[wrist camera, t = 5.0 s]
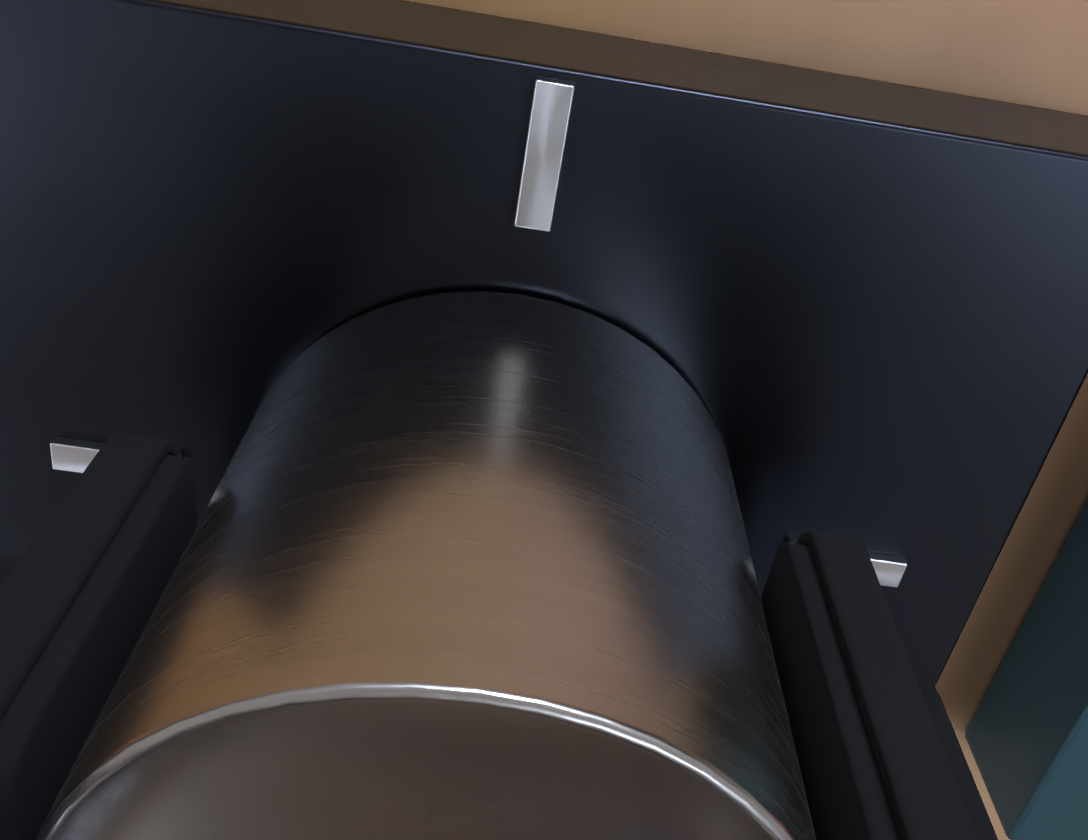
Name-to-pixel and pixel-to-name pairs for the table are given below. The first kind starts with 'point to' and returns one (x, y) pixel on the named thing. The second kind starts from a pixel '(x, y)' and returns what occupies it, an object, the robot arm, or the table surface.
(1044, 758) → the button box
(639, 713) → the dial
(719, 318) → the dial panel
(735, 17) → the table surface
